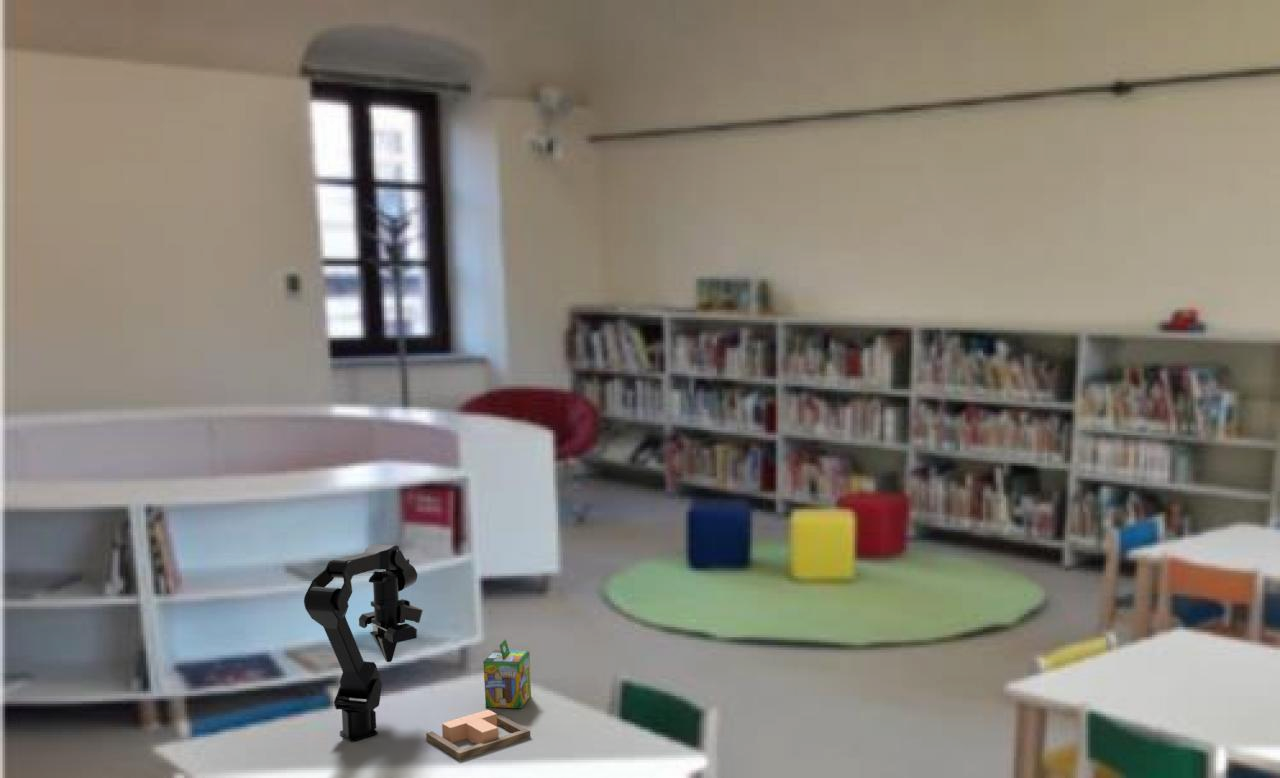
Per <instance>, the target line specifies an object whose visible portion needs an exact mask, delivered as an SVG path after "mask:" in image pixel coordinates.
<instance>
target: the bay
mask: <svg viewBox="0 0 1280 778" xmlns="http://www.w3.org/2000/svg"><path fill="white" fill-rule="evenodd" d="M494 713H496V714H497V725H498V724H499V725H498V726H500V727H502V728H504V729H506V730H507V731H509V732H511V733H508V734H505V735H502V736H498V738H496V739H493V740H489V741H486V742H483V743H480V744H474V745H471V746H467V747H464V748H461V747H460V746H457V745H456V744H454V743H451V742H449V741H448V740H446V739H444V738H443V736H441V735H440V734H438V733H436V732H434V731H432V730H430V731H429V732H426V734H425V735H426V739H425V740H427V741H428V742H430V743H431V744H433V745H435V746H436V747H438V748H439V749H441V750H442V751H444V752H446V753H447V754H449V755H450V756H451V757H454V758H455V759H457V760H459V761H462V760H464V759H468V758H470V757H473V756H476V755H480V754H483V753H486V752H489V751H492V750H495V749H498V748H502V747H504V746H507V745H511V744H513V743H517V742H520V741H523V740H526V738H527V739H530V738H531V730H530V729H528V728H526V727H524V726H522V725H520V724H519V723H517V722H515V721H512V720H511V719H509V718H508V717H506V716H504V715H502V714H500V713H498V712H496V711H495V712H494Z"/></svg>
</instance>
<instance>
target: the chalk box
mask: <svg viewBox="0 0 1280 778" xmlns="http://www.w3.org/2000/svg"><path fill="white" fill-rule="evenodd" d="M504 647H505V649H504ZM530 658H531V657H530V650H529V651H528V650H516V649H510V648H509V645H508V643H507V639H503V640H502V641H501V643H500V644H499V649H494V650H493V651H492V652H491V653H490V654H489V655H488V656H487V657H486V658H484V660H483V661H482V662H483V676H484V677H483V679H484V697H485V698H484V701H485V708H498V709H499V708H502V709H503V708H504V709H522V708H523V706H524V705H525V704H526V703H527V702H528V700H529V699H530V698H531V697H532V686H531V684H532V683H531V659H530Z"/></svg>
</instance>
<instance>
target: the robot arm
mask: <svg viewBox="0 0 1280 778" xmlns="http://www.w3.org/2000/svg"><path fill="white" fill-rule="evenodd" d="M373 570H374V572H373V573H372V575H371V576H370V577H369V578H368V583H373V584H372V586H373V587H372V589H373V592H372V593H373V601H372V600H371V601H370V607H372V608H373V610H374V611H370V612H366V613H365V612H364V613H362V614H361V615H360V617H359V618H358V626H359V627H361V628H363V629H366V628H367V627H368V625H371V626H372V631H370V632H369V634H370V636H371V637H372V638H373V640H374V642H375V643H376V645H377V647H378V648H379V651H380V653H381V654H382V656H383V659H384V660H385V662H386V663H392V661H393V658H394V655H395V651H396V647H397V645H398V643H402V642H407V641H410V640H414V639H417V638H418V629H417V628H416V627H415V626H414V625H412V624H409V623H406V621H411V622H415V623H419V624H420V621H421V618H422V615H423V611H424V610H423V609H422V608H420V607H417V606H414V605H411V601H409V600H407V599H404V598H401V599H399V596H400V595H399V592H401V591H403V590H405V589H406V588H409V587H410V586H411V587H412V586H413V585H414V584H415V583H416V581H417V580H418V572H417V570H416V568H415V567H414V565H412V564H411V563H410V559H409V558H406V557H405V556H404V553H403V552H402V550H400V546H399V545H397V544H396V545H395V544H394V545H393V544H382V543H381V544H377V543H373V544H371V545H369V546H368V547H366V548H365V550H364V552H361V553H357V554H353V555H349V556H345V557H342V558H334V559H331V560H329V562H328V563H327V564H326V567H325V568H324V570H323V571H322V572H320V573H319V574H318V575H317V576H316V577H314V578H313V580H312V581H311V583H310V584H309V587H308V588H307V591H306V593H305V595H304V598H303V604H304V607H305V610H306V612H307V613H308V615H309V617H310V618H311V619H312V620H313V621H314V622H316V623H317V624H318V625H320V626H321V627H323V629H324V632H325V633H326V637H327V639H328V641H329V643H330V646H331V648H332V650H333V652H334V655H335V658H336V659H337V661H338V664H339V666H340V669H341V672H342V674H341V676H340V679H339V684H340V685H339V689H338V691H337V693H336V696H335V698H334V701H333V703H334V707H335V710H341V718H342V720H341V721H342V730H339V735H341V736H343V737H344V738H345V739H347V740H349V742H355V741H359V740H363V739H366V738H370V737H372V736H376V735H378V734H379V731H377V730H376V729H377V714H376V711H375V709H377V708H378V707H379V706H380V703H381V702H380V701H381V694H382V684H383V683H382V681H381V677H380V676H381V673H380V672H379V671H378V667H377V665H376V663H375V662H374V661H366V660H365V661H364V658H363V657H362V654H361V652H360V649H359V646H358V644H357V641H356V639H355V637H354V634H353V633H352V630H351V628H350V625H349V622H348V620H347V617H346V615H347V613H348V610H349V601H350V598H351V596H352V595H353V594H352V593H353V588H352V587H353V586H352V585H353V584H352V579H353V576H356V575H359V574H360V575H361V574H363V573H364V574H365V573H367V572H371V571H373ZM376 570H383V571H376ZM334 578H339V579H340V578H341V579H342V580H343V584H342V586H341V588H339V587H326V586H328V585H330V584H331V582H333V580H334ZM354 699H355V700H354ZM356 699H357V700H356Z"/></svg>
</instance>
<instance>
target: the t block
mask: <svg viewBox="0 0 1280 778" xmlns="http://www.w3.org/2000/svg"><path fill="white" fill-rule="evenodd" d="M496 713H497V712H496ZM496 713H495V712H493V711H492V710H490V709H485V710H482V711H479V712H475V713H472V714H469V715H466V716H462V717H459V718H456V719H452V720H448V721H445V722H442V723H441V724H442V725H441V726H442V727H441V728H442V729H441V730H442V737H443V738H444V739H446V740H448V741H449V742H451V743H452V744H454V743H455V742H459V741H462V740H466V739H467V740H469V741H471V742H472V743H474V745H477V744H480V743H483V742H486V741H489V740H493V739H496V738H499V727H498V724H497V714H496Z"/></svg>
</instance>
